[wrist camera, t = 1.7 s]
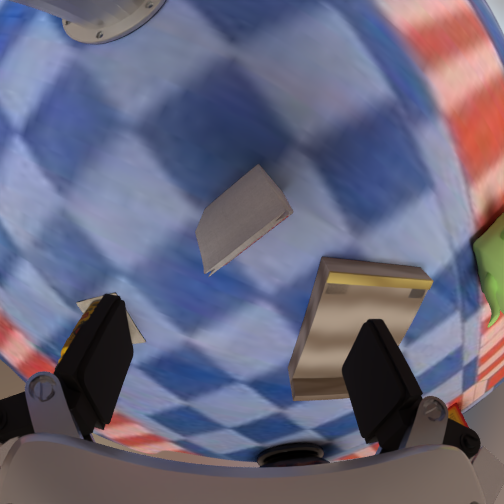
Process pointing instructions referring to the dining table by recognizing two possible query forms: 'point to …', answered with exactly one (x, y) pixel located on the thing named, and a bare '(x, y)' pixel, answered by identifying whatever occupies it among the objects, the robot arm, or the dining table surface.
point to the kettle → (492, 266)
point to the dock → (349, 319)
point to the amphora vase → (292, 456)
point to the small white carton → (240, 218)
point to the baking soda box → (456, 414)
